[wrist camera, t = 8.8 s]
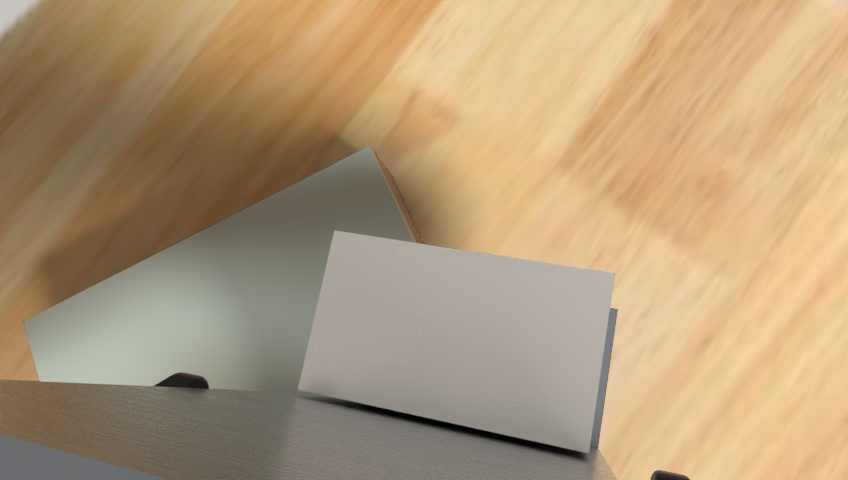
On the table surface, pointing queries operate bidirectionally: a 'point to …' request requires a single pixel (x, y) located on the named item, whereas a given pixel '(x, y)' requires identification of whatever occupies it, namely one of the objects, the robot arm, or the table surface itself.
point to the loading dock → (223, 291)
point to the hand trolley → (364, 385)
